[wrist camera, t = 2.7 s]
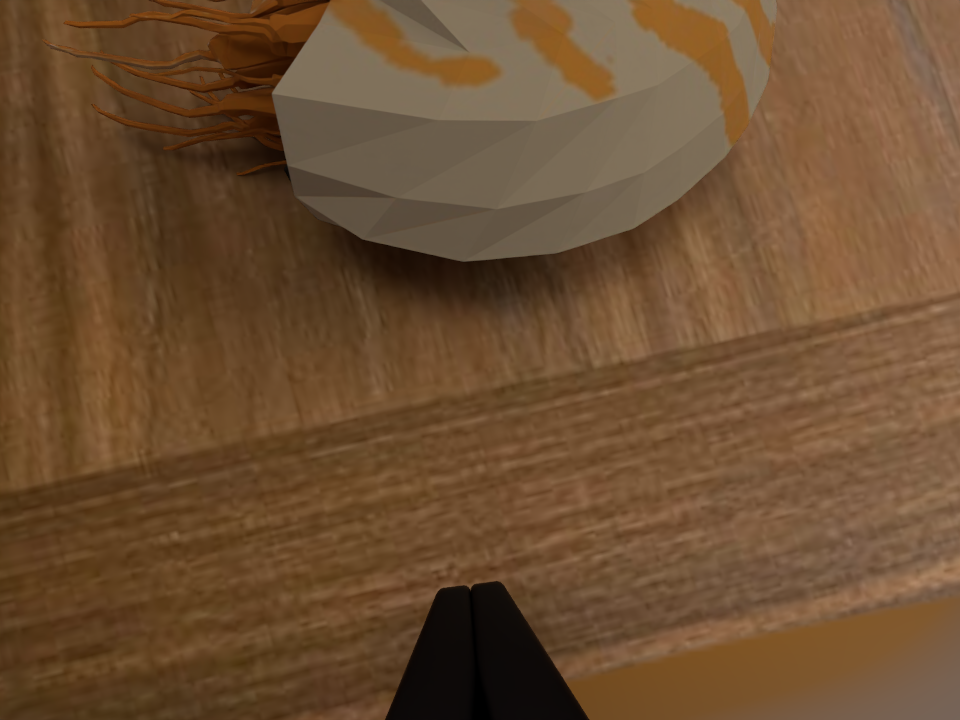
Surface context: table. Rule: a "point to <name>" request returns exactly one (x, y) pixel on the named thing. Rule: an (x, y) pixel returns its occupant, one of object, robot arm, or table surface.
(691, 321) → the table surface
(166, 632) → the table surface
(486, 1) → the nautilus
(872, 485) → the table surface
